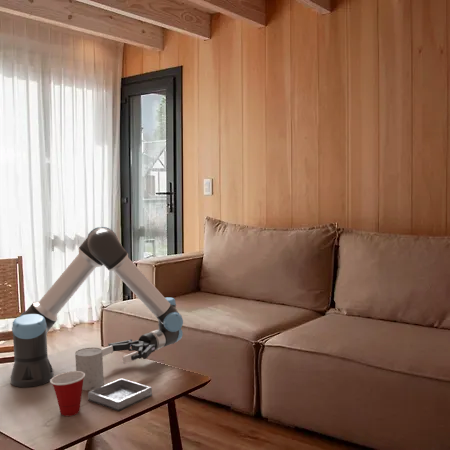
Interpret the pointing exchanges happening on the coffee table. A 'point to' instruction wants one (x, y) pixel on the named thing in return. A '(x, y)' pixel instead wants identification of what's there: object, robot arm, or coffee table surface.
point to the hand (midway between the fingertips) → (111, 356)
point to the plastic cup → (68, 391)
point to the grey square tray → (119, 394)
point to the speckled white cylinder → (90, 367)
